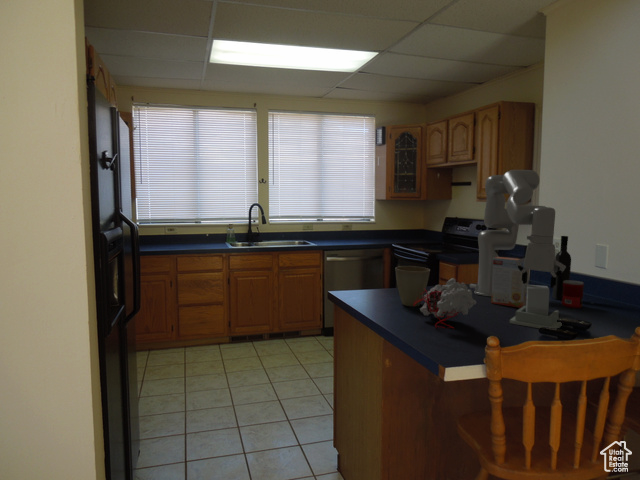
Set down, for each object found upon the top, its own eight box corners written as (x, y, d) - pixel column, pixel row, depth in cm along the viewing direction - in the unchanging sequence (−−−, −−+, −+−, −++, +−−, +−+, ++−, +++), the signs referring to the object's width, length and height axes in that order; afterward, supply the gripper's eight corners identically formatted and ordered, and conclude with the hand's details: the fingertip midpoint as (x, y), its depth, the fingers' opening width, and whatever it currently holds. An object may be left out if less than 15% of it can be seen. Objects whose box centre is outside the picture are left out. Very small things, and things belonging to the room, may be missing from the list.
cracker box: (527, 306, 201) (530, 259, 199) (522, 309, 197) (525, 260, 195) (496, 301, 211) (498, 256, 209) (490, 303, 206) (493, 257, 204)
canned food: (584, 308, 199) (586, 283, 198) (564, 307, 201) (566, 282, 199) (578, 304, 206) (580, 280, 205) (559, 303, 208) (560, 279, 207)
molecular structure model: (416, 345, 169) (465, 320, 151) (395, 299, 175) (440, 270, 157) (450, 334, 181) (499, 309, 163) (429, 291, 187) (474, 263, 169)
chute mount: (509, 323, 174) (510, 310, 173) (519, 315, 185) (520, 304, 184) (555, 331, 164) (556, 318, 164) (563, 323, 175) (564, 311, 175)
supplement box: (545, 318, 177) (548, 285, 175) (547, 322, 170) (550, 289, 169) (525, 315, 179) (526, 284, 178) (525, 320, 172) (528, 287, 171)
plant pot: (401, 309, 192) (402, 271, 191) (389, 301, 207) (390, 266, 205) (434, 308, 195) (436, 271, 194) (420, 300, 210) (421, 265, 208)
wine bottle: (564, 297, 220) (568, 235, 218) (569, 300, 215) (573, 236, 212) (551, 297, 221) (555, 235, 218) (556, 300, 215) (560, 236, 213)
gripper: (514, 239, 174) (511, 283, 176) (565, 243, 163) (561, 290, 165) (520, 237, 180) (517, 280, 182) (569, 241, 169) (565, 287, 171)
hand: (538, 285), depth 174 cm, fingers open, 9 cm apart
